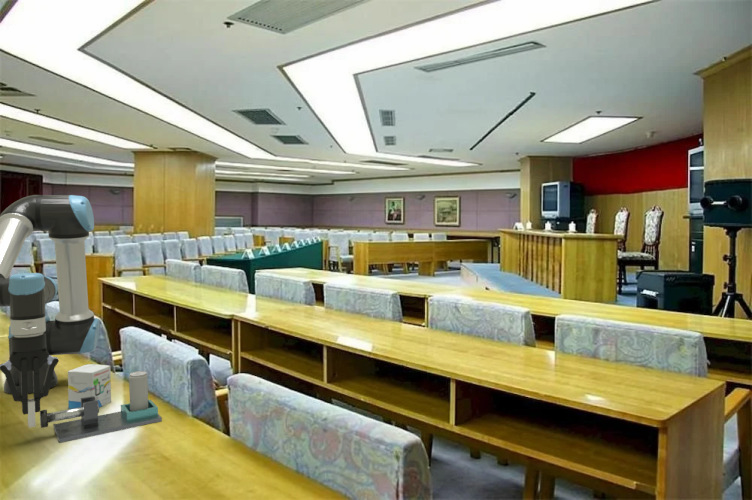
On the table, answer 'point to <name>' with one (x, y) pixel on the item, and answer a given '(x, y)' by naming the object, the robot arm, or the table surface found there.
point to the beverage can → (138, 390)
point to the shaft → (59, 415)
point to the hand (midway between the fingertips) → (31, 425)
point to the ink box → (89, 384)
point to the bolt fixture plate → (104, 420)
